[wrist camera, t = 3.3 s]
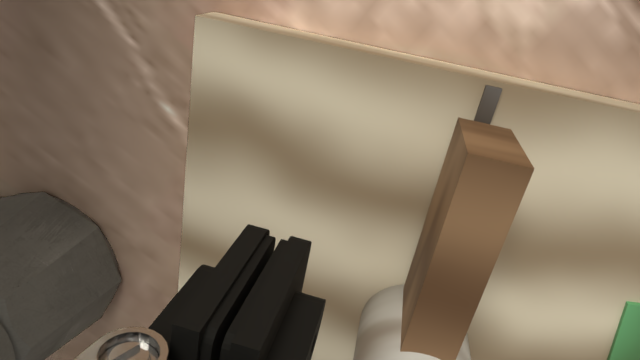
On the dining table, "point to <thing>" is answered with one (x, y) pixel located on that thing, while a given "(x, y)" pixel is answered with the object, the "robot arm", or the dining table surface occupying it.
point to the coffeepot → (50, 275)
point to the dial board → (411, 184)
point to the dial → (451, 251)
